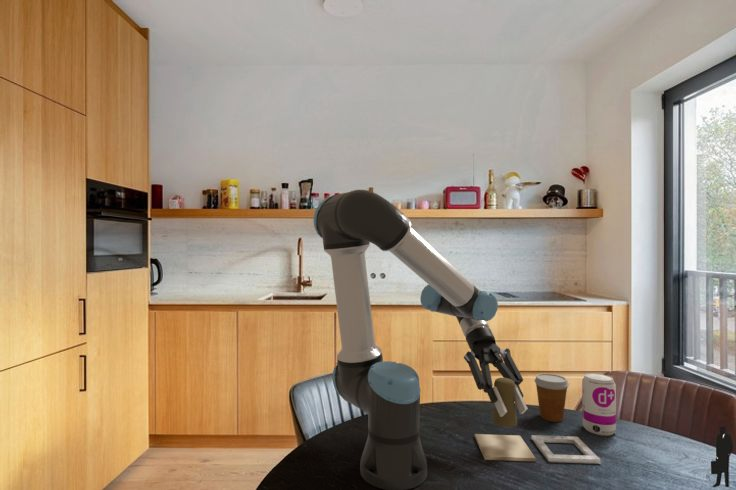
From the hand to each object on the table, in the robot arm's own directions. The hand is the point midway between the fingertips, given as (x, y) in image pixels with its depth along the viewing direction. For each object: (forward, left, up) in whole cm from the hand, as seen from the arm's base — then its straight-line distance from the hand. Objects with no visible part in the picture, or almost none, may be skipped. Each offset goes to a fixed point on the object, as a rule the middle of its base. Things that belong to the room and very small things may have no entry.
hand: (513, 412), depth 100 cm
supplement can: (+28, +16, -11) cm, 34 cm away
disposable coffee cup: (+18, +24, -11) cm, 32 cm away
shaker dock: (+13, +3, -10) cm, 17 cm away
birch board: (-2, +3, -10) cm, 11 cm away
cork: (-1, +4, -4) cm, 6 cm away
